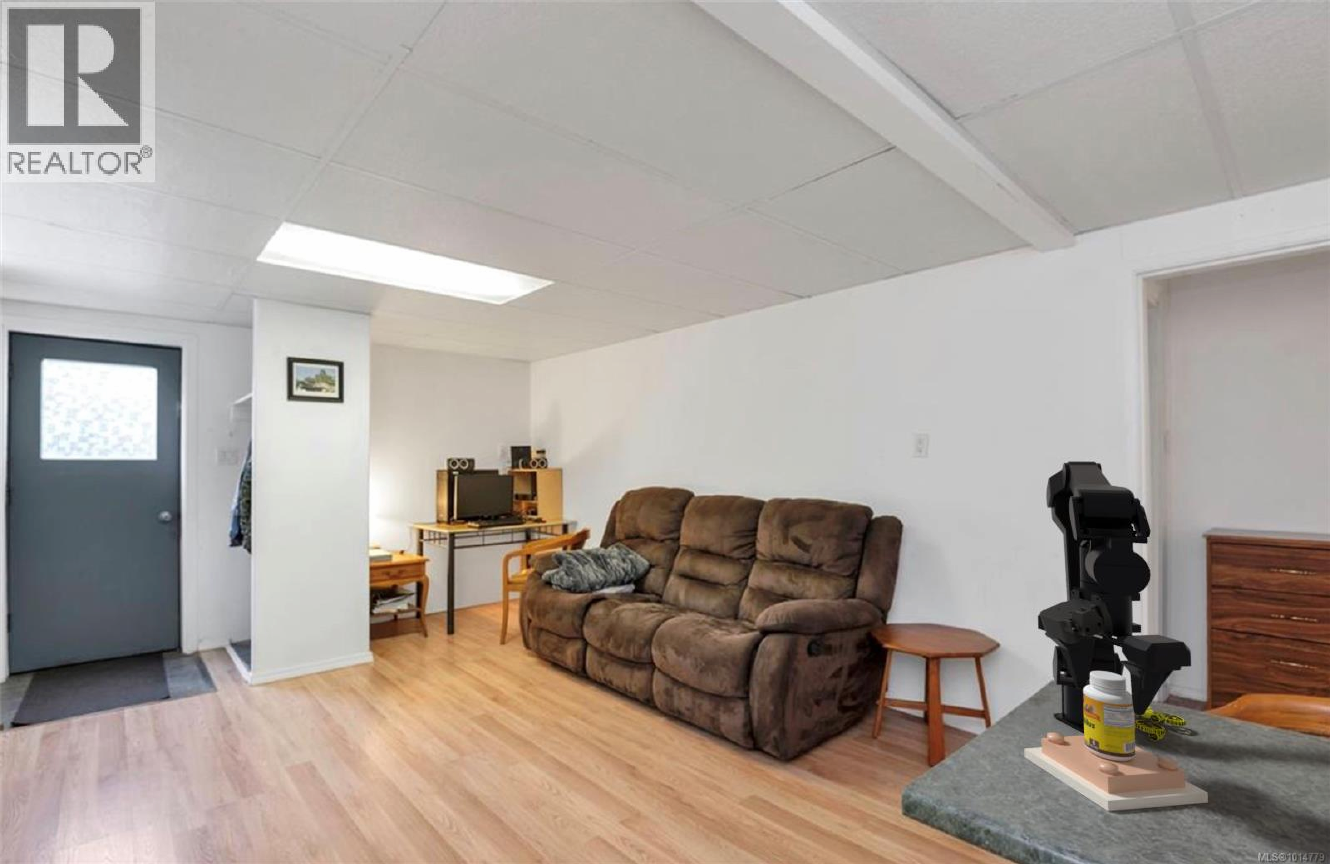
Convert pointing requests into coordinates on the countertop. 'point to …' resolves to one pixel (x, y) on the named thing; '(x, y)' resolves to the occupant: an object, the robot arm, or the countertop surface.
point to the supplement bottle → (1109, 717)
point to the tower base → (1118, 798)
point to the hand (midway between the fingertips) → (1108, 700)
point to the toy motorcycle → (1156, 722)
